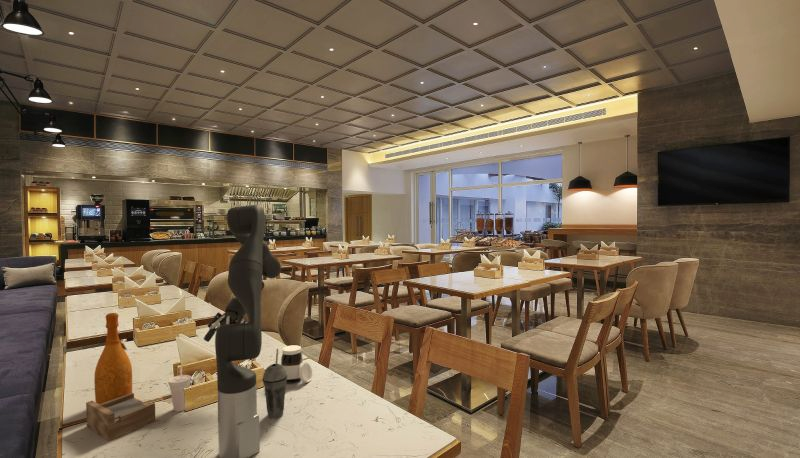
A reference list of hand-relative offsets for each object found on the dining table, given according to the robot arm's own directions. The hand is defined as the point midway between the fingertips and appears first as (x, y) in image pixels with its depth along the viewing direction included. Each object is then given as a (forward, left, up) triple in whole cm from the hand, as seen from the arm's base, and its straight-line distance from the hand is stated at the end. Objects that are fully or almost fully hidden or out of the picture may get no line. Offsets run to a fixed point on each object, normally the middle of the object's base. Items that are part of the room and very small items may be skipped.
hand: (213, 342), depth 132 cm
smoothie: (0, +11, -18) cm, 21 cm away
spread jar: (-15, -24, -18) cm, 33 cm away
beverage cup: (-29, -2, -18) cm, 34 cm away
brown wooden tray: (+6, +25, -18) cm, 32 cm away
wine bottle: (+21, +21, -18) cm, 35 cm away
